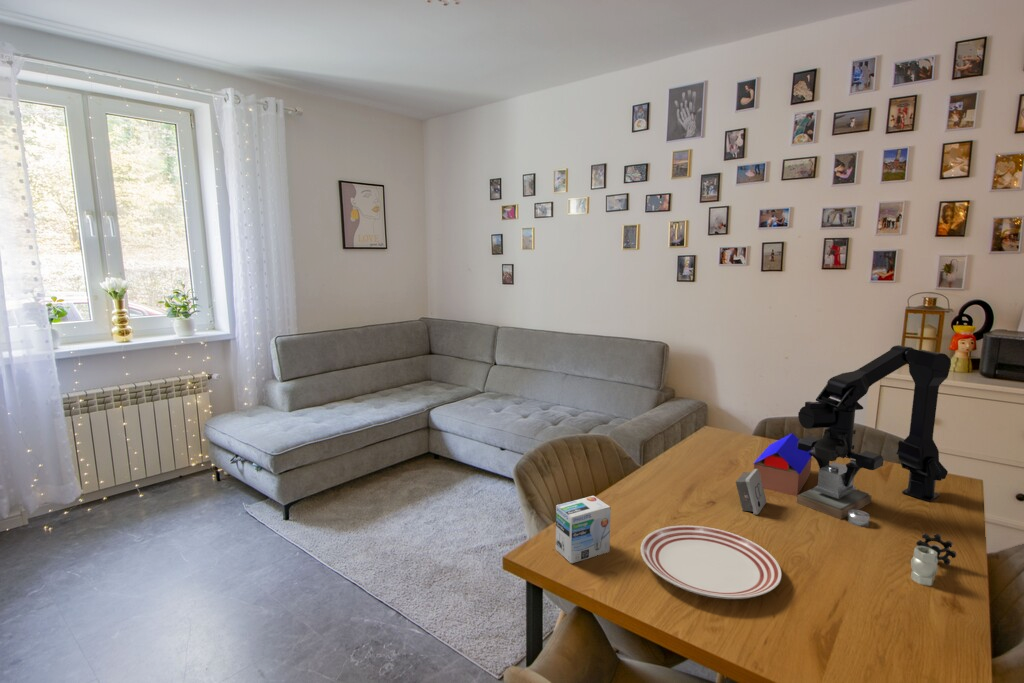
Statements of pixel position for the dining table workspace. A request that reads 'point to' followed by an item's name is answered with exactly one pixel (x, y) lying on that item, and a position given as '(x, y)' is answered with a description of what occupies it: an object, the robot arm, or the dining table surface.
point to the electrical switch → (751, 491)
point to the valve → (929, 559)
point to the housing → (834, 481)
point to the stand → (834, 502)
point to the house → (784, 466)
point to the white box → (582, 528)
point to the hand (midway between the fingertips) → (835, 482)
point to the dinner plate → (710, 562)
